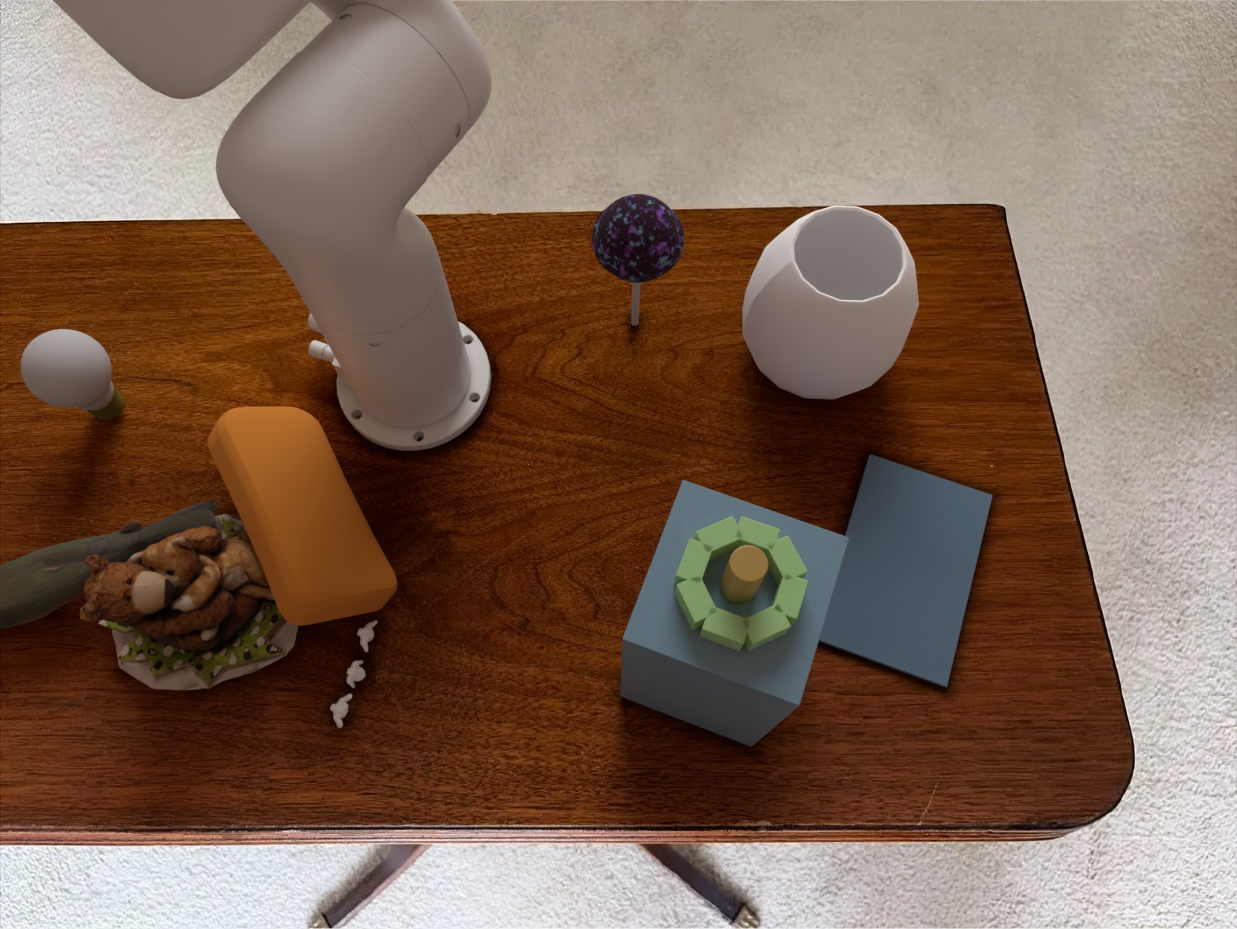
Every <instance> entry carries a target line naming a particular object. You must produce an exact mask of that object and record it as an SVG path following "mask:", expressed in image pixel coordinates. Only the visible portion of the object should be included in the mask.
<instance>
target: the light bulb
mask: <svg viewBox="0 0 1237 929" xmlns="http://www.w3.org/2000/svg"><path fill="white" fill-rule="evenodd" d="M20 375H21V377H22V381H23V382H24V384H25V386H26V388H27V389H28V390H29V391H30V393H31V394H32V395H33V396H35V397H36V398H37V399H38V400H40V401H42V402H43V403H44V404H45V403H46V404H47V405H50V406H53V407H57V408H64V409H75V408H78V409H80V410H84V411H87V412H88V413H89V414H90V415H92V416H93V417H94V418H96V419H98V420H102V421H108V420H111V419H114V418H116V417H117V416H119V415H120V414H121V412H122V411H123V409H124V407H125V399H124V397H123V395H122V394H121V392H120V391H118V390H117V388H116V387H114V384H113V381H112V380H111V378H112V363H111V360H110V357H109V355H108V353H107V351H106V349H105V348H104V347H103V346H102V345H101V344H100V342H99V341H98V340H96V339H95V338H93V337H92V336H90V335H89V334H86V333H84V332H81V331H79V330H75V329H70V328H69V329H67V328H59V329H51V330H49V331H46V332H43V333H41V334H39V335H37V336H36V337H35V338H33V339H32V340H31V341H30V342H29V343H28V344H27V345H26V347H25V348H24V351H23V353H22V355H21V358H20Z"/></svg>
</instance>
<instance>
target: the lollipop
mask: <svg viewBox="0 0 1237 929" xmlns="http://www.w3.org/2000/svg"><path fill="white" fill-rule="evenodd" d="M684 244H685V231H684V227H683V223H682V221H681V219H680V218H679V216H678V215H677V214H676V212H674V210H673V209H671V208H670V206H668V204H667V203H665V202H664V201H662V200H661V199H660V198H658V197H656V196H652V195H649V194H645V193H632V194H627V195H624V196H621V197H619V198H618V199H616V200H614V201H613V202H611V203H610V204H609V205H608V206H606V207H605V208H604V209H603V210H602V211H601V212H600V214H599V215H598V216H597V217H596V220H595V221H594V224H593V227H592V232H591V245H592V250H593V252H594V255H595V259H596V260H597V261H598V263H599V265H601V267H603V269H604V270H606V271H607V272H608V273H610V274H611V275H613V276H614V277H616V278H618V279H620V280H622V281H624V282H628V283H631V310H630V311H631V313H630V314H631V316H630V324H631V325H632V326H634V327H636V326H638V325H639V324H640V322H639V321H640V303H641V302H640V300H641V299H640V298H641V283H648V282H651V281H654V280H656V279H658V278H660V277H662V276H664V275H665V274H667V273H668V272H669V271H671V270H672V269H673V268H674V267H675V266H676V264H678V261H679V260H680V258H681V256H682V253H683V250H684Z"/></svg>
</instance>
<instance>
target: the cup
mask: <svg viewBox="0 0 1237 929" xmlns="http://www.w3.org/2000/svg"><path fill="white" fill-rule="evenodd" d="M915 263H916V262H915V260H914V257H913V255H912V254H911V252H910V249H909V247H908V245H907V243H906V242H905V240H904V238H903V237H902V235H901V233H900V232H899V230H898V228H897V227H896V226H894V224H892V223H890V222H889V221H888V220H887V219H885V218H884V217H883V216H882V215H880V214H879V213H877V212H873V211H871V210H868V209H865V208H862V207H859V206H855V205H830V206H827V207H825V208H821V209H817V210H815V211H812V212H809V213H807V214H806V215H804V216H801V217H800V218H797V220H795V221H794V222H793V223H792V224H790V225H788V227H786V228H785V229H784V230H783V231H782V232H780V233H779V234H778V235H777V236H776V237H774V238H773V239H772V240H771V241H770V242H769V243H768V244H767V245H766V246H764V249H763V251H762V253H761V255H760V257H759V260H758V261H757V264H756V266H755V268H754V269H753V271H752V274H751V276H750V279H749V281H748V284H747V287H746V288H745V293H744V298H743V303H742V309H741V310H742V311H741V312H742V315H741V316H742V337H743V340H744V341H745V344H746V346H747V348H748V350H749V353H750V354H751V356H752V358H753V360H754V363H755V364H756V366H757V368H758V370H759V371H760V372H761V373H762V374H763V375H764V376H766V378H768V379H769V380H770V381H771V382H772V383H773V384H774V385H776V387H777V388H779V389H781V390H783V391H787V392H788V393H791V394H794V395H795V396H799V397H801V398H804V399H812V400H813V399H815V400H837V399H839V398H842V397H845V396H848V395H851V394H854V393H857V392H859V391H862V390H866V389H867V388H870V387H872V386H873V385H874V384H875V383H876V382H878V380H879V379H880V378H882V376H884V375H885V374H886V373H887V372H888V371H890V370H891V369H892V367H893V366H894V365H895V363H896V361H897V360H898V358H899V356H900V354H902V351H903V349H904V346H905V344H906V341H907V339H908V337H909V334H910V331H911V328H912V326H913V324H914V321H915V318H916V315H917V311H918V310H919V306H920V302H919V301H920V299H919V290H918V279H917V271H916V264H915Z"/></svg>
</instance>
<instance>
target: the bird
mask: <svg viewBox="0 0 1237 929" xmlns="http://www.w3.org/2000/svg"><path fill="white" fill-rule="evenodd" d="M217 504H218V501H217V499H216V498H212V499H210V500H206V501H205V500H204V501H202V502H198V503H196V504H193V505H191V506H189V507H186V508H183V509H181V510H179V511H177V512H175V513H173V514H171V515H169V516H166V517H164V518H161V519H160V520H158V521H156V522H154V523H150V524H148V525H146V526H143V527H142V525H143V522H140V521H132V522H129V523H128V524H127V523H126V524H124V525H123V526H122V527H121V528H120V529H119V530H115V531H112V532H111V533H105V534H102V535H96V536H95V535H94V536H89V537H82V538H78V539H74V540H70V541H66V542H61V543H57V544H53V545H50V546H47V547H43V548H41V549H37V550H34V551H31V552H29V553H27V554H25V555H23V556H20V557H18V558H15V559H13V560H9V561H6V562H4V563H2V564H0V630H4V629H9V628H12V627H16V626H21V625H24V624H28V623H29V624H30V623H32V622H35V621H38V620H41V619H42V618H44V617H46V616H48V615H50V614H52V613H53V612H55V611H57V610H58V609H59V608H62V607H63V606H65V605H66V604H68V603H70V602H72V601H74V600H75V599H77V598H78V597H80V596H81V595H83V594H85V592H84V586H85V583H86V582H87V580H88V579H89V578H90V576H91V575H92V573H91V572H90V570H89V568H88V567H87V566H86V564H85V563H84V562H86V557H87V556H89V555H99V556H101V557H102V558H103V559H106V560H107V561H108V562H123V563H126V561H128V559H129V558H130V557H131V556H132V555H134V554H136V553H138V552H140V551H143V550H145V549H147V547H148V546H150V545H152V544H156V543H159V542H160V541H162V540H164V539H165V538H167V537H169V536H171V535H174V534H176V533H182V532H184V531H185V530H187V529H190V528H199V527H201V526H209V527H212V528H214V529H218V530H221V529H223V526H222V522H221V519H220V518H219V517H216V516H217V515H215V514H216V512H217V509H218V506H217Z"/></svg>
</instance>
